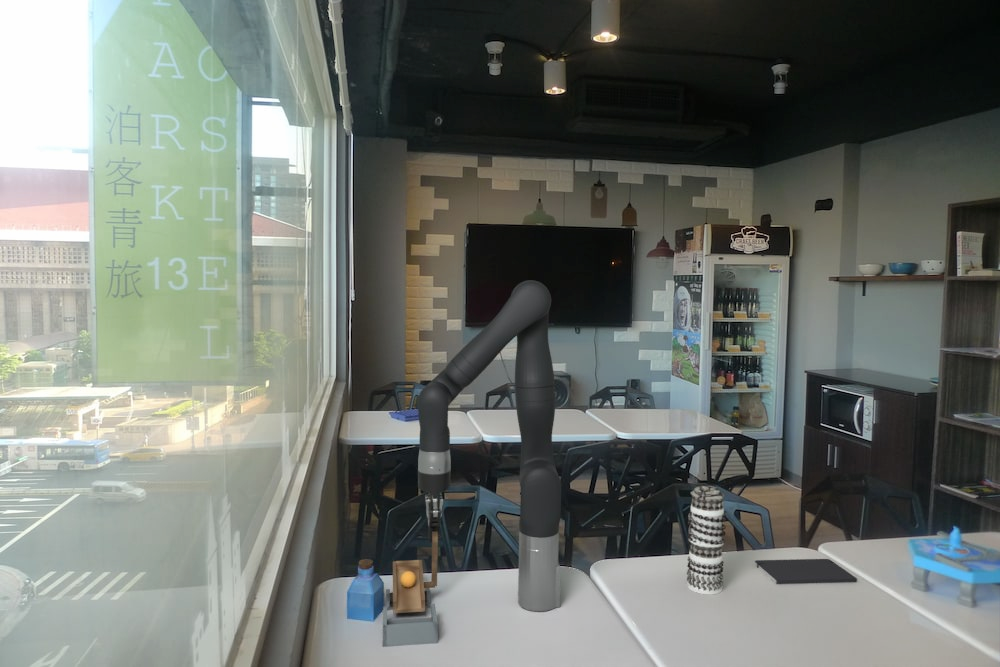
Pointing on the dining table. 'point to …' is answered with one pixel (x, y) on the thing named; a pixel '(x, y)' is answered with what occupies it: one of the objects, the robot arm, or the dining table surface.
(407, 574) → the ball
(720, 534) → the decorative candle
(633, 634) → the dining table surface
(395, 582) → the lever
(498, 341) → the robot arm
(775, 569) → the notebook
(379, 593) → the perfume bottle
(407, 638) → the tray
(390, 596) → the fulcrum
